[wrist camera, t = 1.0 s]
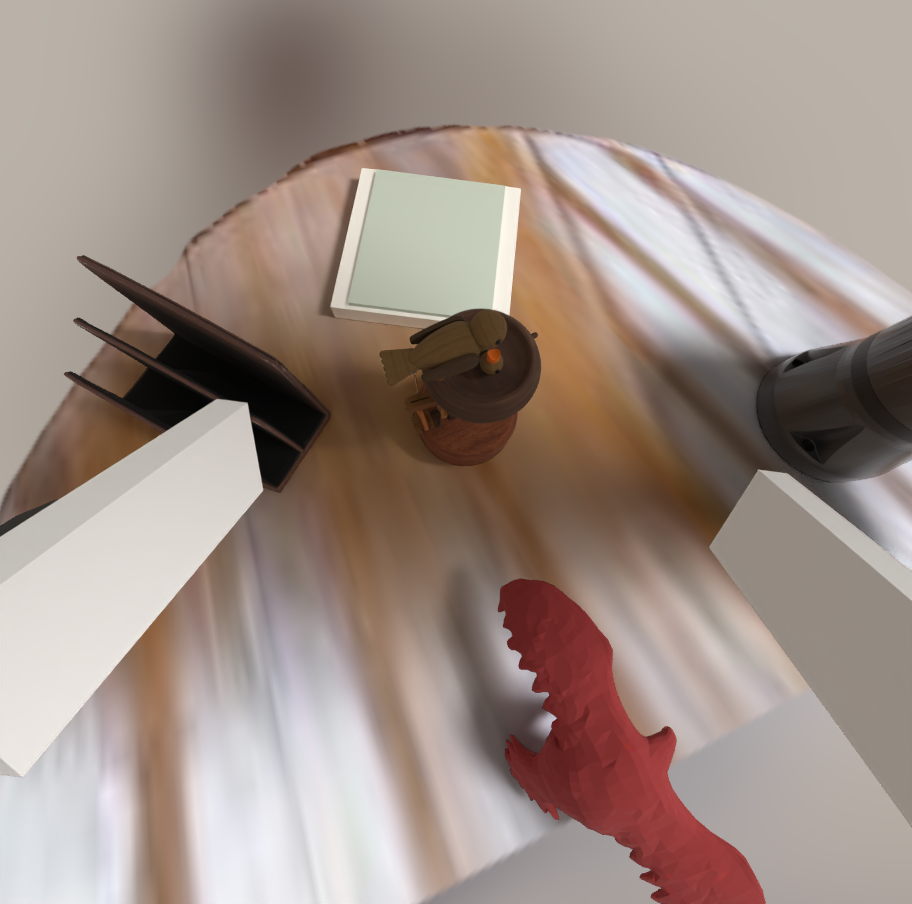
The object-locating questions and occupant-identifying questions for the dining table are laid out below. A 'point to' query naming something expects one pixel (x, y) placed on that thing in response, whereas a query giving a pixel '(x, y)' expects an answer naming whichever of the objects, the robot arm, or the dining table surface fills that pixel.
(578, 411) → the dining table surface
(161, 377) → the letter holder
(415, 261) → the display stand
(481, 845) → the dining table surface
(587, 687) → the red winged figure
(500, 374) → the music box
